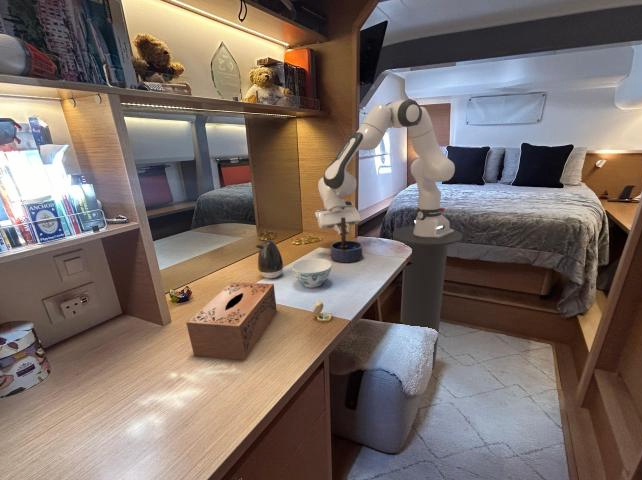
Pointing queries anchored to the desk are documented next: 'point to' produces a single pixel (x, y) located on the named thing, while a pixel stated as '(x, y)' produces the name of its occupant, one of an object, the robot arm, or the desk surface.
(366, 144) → the robot arm
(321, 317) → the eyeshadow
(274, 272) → the pump dispenser
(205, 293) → the desk surface
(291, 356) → the desk surface
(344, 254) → the bowl
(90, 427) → the desk surface
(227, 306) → the tissue box cover
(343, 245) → the stirring stick
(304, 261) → the chinaware
